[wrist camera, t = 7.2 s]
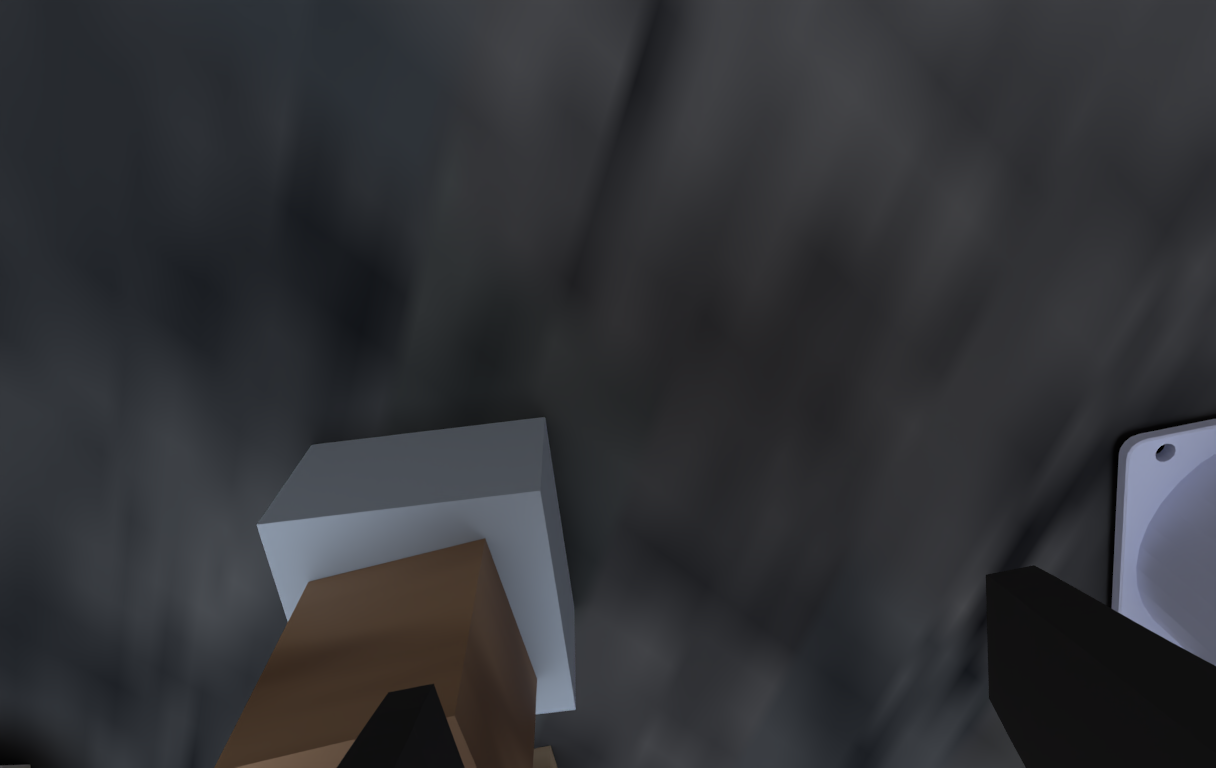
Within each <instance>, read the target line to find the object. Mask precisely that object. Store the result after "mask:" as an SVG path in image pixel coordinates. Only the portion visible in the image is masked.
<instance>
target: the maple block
mask: <svg viewBox="0 0 1216 768" xmlns="http://www.w3.org/2000/svg"><path fill="white" fill-rule="evenodd" d="M533 768H557V765H556V761H555V758H554V755H553V752H552V749H551V746H546V747H541V748H536V749H534V756H533Z"/></svg>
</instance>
